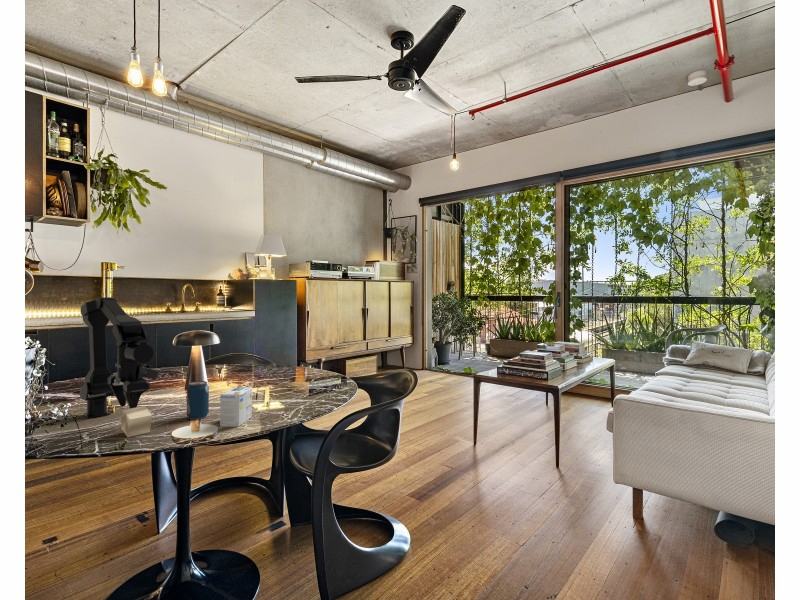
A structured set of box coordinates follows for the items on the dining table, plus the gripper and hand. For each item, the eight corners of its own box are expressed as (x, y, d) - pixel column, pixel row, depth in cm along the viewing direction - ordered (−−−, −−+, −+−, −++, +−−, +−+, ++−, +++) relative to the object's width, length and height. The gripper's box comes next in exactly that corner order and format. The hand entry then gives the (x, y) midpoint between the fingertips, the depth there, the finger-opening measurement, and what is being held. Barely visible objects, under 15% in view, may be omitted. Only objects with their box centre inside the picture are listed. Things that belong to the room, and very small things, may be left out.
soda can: (212, 414, 145) (213, 381, 145) (200, 420, 138) (200, 385, 138) (195, 413, 146) (195, 380, 146) (181, 419, 139) (182, 384, 139)
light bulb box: (233, 416, 143) (233, 386, 143) (252, 417, 143) (252, 386, 143) (219, 426, 132) (219, 393, 132) (239, 427, 132) (239, 394, 132)
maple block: (122, 409, 123) (129, 419, 120) (144, 405, 128) (152, 415, 125) (120, 427, 125) (127, 437, 121) (142, 422, 129) (149, 432, 126)
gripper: (167, 360, 129) (167, 409, 130) (145, 354, 141) (144, 399, 141) (127, 364, 121) (127, 416, 121) (107, 358, 132) (106, 405, 133)
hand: (128, 408), depth 129 cm, fingers open, 9 cm apart
